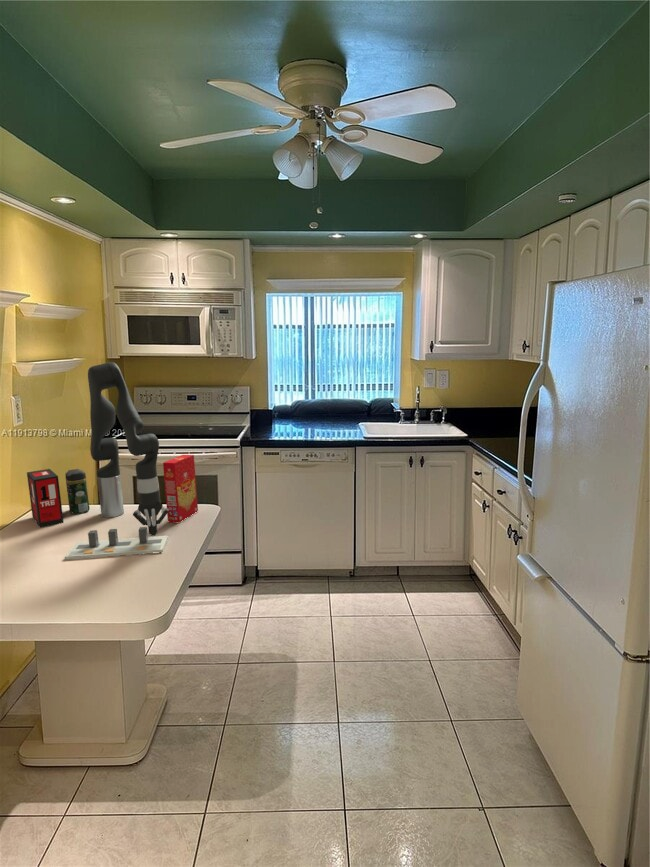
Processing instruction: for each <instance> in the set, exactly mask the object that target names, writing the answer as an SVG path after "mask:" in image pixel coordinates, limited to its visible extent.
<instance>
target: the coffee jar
mask: <svg viewBox="0 0 650 867" xmlns="http://www.w3.org/2000/svg"><path fill="white" fill-rule="evenodd" d="M87 484H88V483H87V475H86V472H85V471H84V470H82V469H79V468H75V469H74V468H73V469H69V470H68V471H66V472H65V485H66V493H67V500H68V507H69V512H71V514H73V513H74V515H75V514H79V513H80V514H84V513H87V512H88V511H90V501H89V493H88V485H87ZM83 512H84V513H83Z"/></svg>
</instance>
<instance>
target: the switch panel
mask: <svg viewBox="0 0 650 867" xmlns="http://www.w3.org/2000/svg"><path fill="white" fill-rule="evenodd" d="M168 538H169V535H158V536H157V535H155V536H148V541H147V543H140V540H139V537H129V538H118V543H117V544H116V545H109V539H102V540H101V539H98V542H99V543H98V545H97V546H93V547H89V540H87V541H76V543H75V544H74V545H73V546H72V547H71V549H70V550H69V551H68V552H67V553H66V554H65V555H64V560H65V561H69V560H70V561H71V560H84V559H85V558H86V559H95V557H99V558H107V557H106V556H113V557H120V556H119V555H126V556H132V555H131V554H139V555H144V554H143V553H153V552H163V553H164V551H163V550H165V549H166V546H167V544H166V543H168V541H169V539H168ZM167 540H168V541H167ZM165 545H166V546H165ZM164 548H165V549H164ZM153 554H154V553H153Z"/></svg>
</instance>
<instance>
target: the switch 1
mask: <svg viewBox="0 0 650 867" xmlns="http://www.w3.org/2000/svg"><path fill="white" fill-rule="evenodd" d="M87 536H88V537H87V538H88V541H89V547H93V546H97V545H98V543H99V542H98V540H99V534H98V530H97V529H92V530H90V531H89V532H88V533H87Z"/></svg>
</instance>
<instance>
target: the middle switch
mask: <svg viewBox="0 0 650 867" xmlns="http://www.w3.org/2000/svg"><path fill="white" fill-rule="evenodd" d="M107 537H108V540H109V545H116V544H117V543H118V539H119V538H118V529H117V528H111V529H110V528H109V530H108V532H107Z"/></svg>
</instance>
